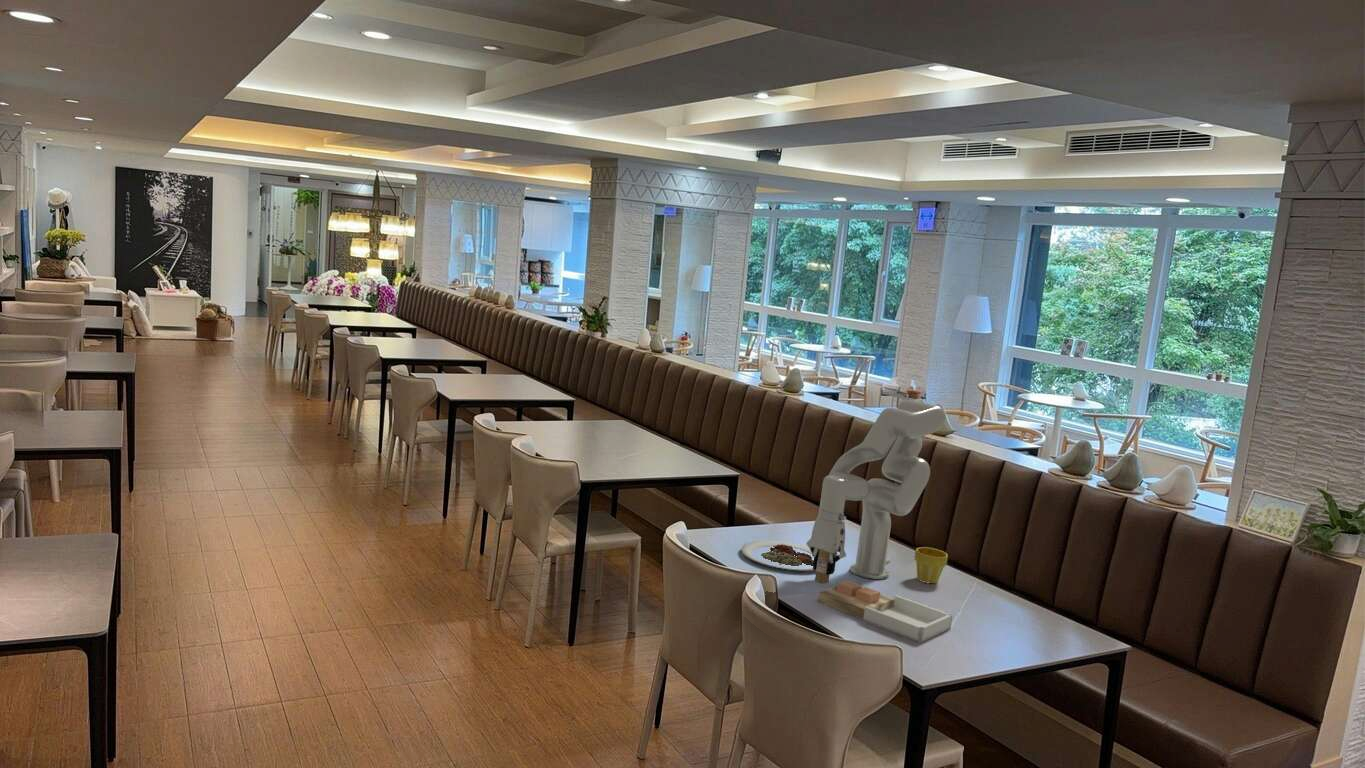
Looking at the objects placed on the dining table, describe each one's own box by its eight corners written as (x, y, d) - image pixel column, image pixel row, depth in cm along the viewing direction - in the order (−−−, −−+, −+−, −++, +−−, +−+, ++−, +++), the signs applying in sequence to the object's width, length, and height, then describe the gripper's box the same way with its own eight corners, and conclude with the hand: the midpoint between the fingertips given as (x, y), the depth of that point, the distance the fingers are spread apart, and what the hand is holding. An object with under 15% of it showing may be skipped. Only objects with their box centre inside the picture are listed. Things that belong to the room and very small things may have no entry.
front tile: (864, 595, 280) (865, 587, 280) (879, 600, 277) (880, 592, 276) (855, 598, 276) (856, 590, 276) (870, 603, 273) (871, 595, 273)
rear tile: (845, 588, 284) (846, 580, 284) (860, 593, 281) (861, 585, 281) (836, 591, 280) (837, 583, 280) (851, 596, 277) (852, 588, 277)
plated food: (772, 577, 296) (773, 567, 296) (724, 547, 323) (725, 538, 322) (848, 572, 311) (849, 562, 310) (796, 543, 337) (798, 534, 336)
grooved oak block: (847, 591, 290) (848, 582, 290) (893, 608, 280) (894, 599, 279) (817, 601, 278) (819, 592, 278) (864, 619, 268) (866, 609, 267)
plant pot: (945, 588, 305) (950, 558, 304) (913, 583, 306) (917, 554, 305) (941, 577, 315) (945, 549, 314) (909, 573, 316) (913, 545, 315)
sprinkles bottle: (811, 580, 297) (817, 539, 295) (819, 577, 301) (824, 537, 299) (824, 584, 294) (829, 543, 293) (831, 582, 298) (837, 541, 296)
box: (894, 608, 280) (896, 595, 280) (950, 628, 269) (952, 615, 268) (863, 620, 267) (864, 607, 267) (920, 642, 255) (922, 628, 255)
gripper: (860, 521, 292) (852, 577, 294) (815, 507, 303) (807, 561, 305) (847, 524, 286) (839, 582, 289) (801, 510, 297) (794, 565, 300)
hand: (823, 571), depth 297 cm, fingers closed on sprinkles bottle, 4 cm apart
